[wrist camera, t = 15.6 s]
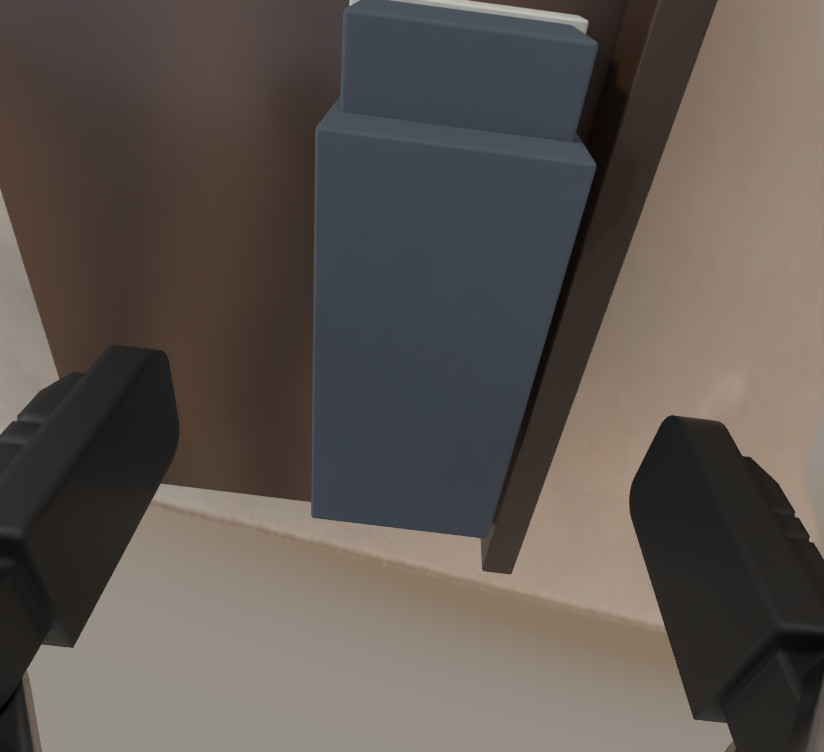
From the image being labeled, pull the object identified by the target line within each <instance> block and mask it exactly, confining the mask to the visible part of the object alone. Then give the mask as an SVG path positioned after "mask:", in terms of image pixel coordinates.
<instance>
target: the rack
mask: <svg viewBox="0 0 824 752" xmlns="http://www.w3.org/2000/svg"><path fill="white" fill-rule="evenodd" d="M349 1H350V0H0V189H1V192H2V195H3V198H4V202H5V205H6V208H7V211H8V215H9V218H10V221H11V224H12V227H13V231H14V234H15V237H16V240H17V244H18V247H19V250H20V253H21V256H22V260H23V263H24V266H25V269H26V273H27V276H28V279H29V282H30V285H31V289H32V292H33V295H34V298H35V302H36V305H37V308H38V311H39V314H40V318H41V321H42V324H43V327H44V331H45V334H46V337H47V340H48V343H49V347H50V350H51V353H52V356H53V360H54V363H55V366H56V369H57V372H58V376H59V379H62V378H63V377H65V376H67V375H68V374H70V373H72V372H77V373H86V372H87V370H88V369H89V368H90V367H91V366H92V364H93V363H94V362H95V361H96V360H97V359H98V357H99V356H100V355H101V354H102V353H103V351H104V350H105V349H106V348H107V347H109V346H110V345H113V344H116V345H124V346H132V347H140V348H148V349H156V350H162V351H164V352H165V353H166V355H167V356H168V359H169V363H170V369H171V375H172V381H173V387H174V393H175V399H176V405H177V411H178V417H179V424H180V432H179V441H178V446H177V450H176V453H175V456H174V459H173V461H172V463H171V465H170V467H169V468H168V470H167V472H166V474H165V476H164V478H163V480H162V482H161V484H169V485H178V486H186V487H194V488H202V489H210V490H218V491H226V492H235V493H243V494H251V495H259V496H267V497H275V498H283V499H292V500H300V501H308V502H312V409H313V313H314V217H315V130H316V127H317V126H318V125H319V123H320V122H321V121H322V119H323V118H324V117H325V115H326V114H327V113H328V112H329V110H330V109H331V108H332V106H333V105H334V104H335V102H336V101H337V100H338V99H339V97H340V94H341V64H342V35H343V12H344V10H345V8H347V7H349ZM469 1H476V2H484V3H491V4H498V5H506V6H513V7H521V8H528V9H535V10H543V11H550V12H558V13H565V14H572V15H579V16H581V17H582V18H584V19H586V20H588V22H589V25H588V29H587V33H586V35H587V36H589V37H590V38H592V39H593V40H595V41H596V42H598V51H597V54H596V58H595V62H594V66H593V69H592V73H591V77H590V81H589V85H588V88H587V92H586V96H585V100H584V104H583V107H582V111H581V115H580V119H579V122H578V126H577V130H576V133H577V135H578V136H579V138H580V139H581V141H582V142H583V144H584V145H585V147H586V148H587V150H588V152H589V153H590V155H591V156H592V158H593V159H594V161H595V162H596V166H597V167H596V171H595V174H594V177H593V181H592V184H591V188H590V191H589V194H588V198H587V201H586V205H585V208H584V211H583V215H582V218H581V222H580V225H579V228H578V232H577V235H576V239H575V242H574V245H573V249H572V252H571V256H570V259H569V262H568V266H567V269H566V273H565V276H564V279H563V283H562V286H561V290H560V293H559V296H558V300H557V303H556V307H555V310H554V313H553V317H552V320H551V324H550V327H549V330H548V334H547V337H546V340H545V344H544V347H543V351H542V354H541V357H540V361H539V364H538V368H537V371H536V374H535V378H534V381H533V385H532V388H531V391H530V395H529V398H528V402H527V405H526V408H525V412H524V415H523V419H522V422H521V425H520V429H519V432H518V436H517V439H516V442H515V446H514V449H513V453H512V456H511V459H510V463H509V466H508V470H507V473H506V476H505V480H504V483H503V487H502V490H501V493H500V497H499V500H498V504H497V507H496V510H495V514H494V517H493V521H492V524H491V527H490V531H489V534H488V537H487V538H481V555H482V570H483V571H487V572H495V573H503V574H512V571H513V568H514V565H515V563H516V560H517V557H518V554H519V551H520V549H521V546H522V543H523V540H524V538H525V535H526V532H527V529H528V526H529V524H530V521H531V518H532V515H533V513H534V510H535V507H536V504H537V501H538V499H539V496H540V493H541V490H542V487H543V485H544V482H545V479H546V476H547V474H548V471H549V468H550V465H551V462H552V460H553V457H554V454H555V451H556V448H557V446H558V443H559V440H560V437H561V435H562V432H563V429H564V426H565V423H566V421H567V418H568V415H569V412H570V410H571V407H572V404H573V401H574V398H575V396H576V393H577V390H578V387H579V384H580V382H581V379H582V376H583V373H584V371H585V368H586V365H587V362H588V359H589V357H590V354H591V351H592V348H593V346H594V343H595V340H596V337H597V334H598V332H599V329H600V326H601V323H602V320H603V318H604V315H605V312H606V309H607V307H608V304H609V301H610V298H611V295H612V293H613V290H614V287H615V284H616V282H617V279H618V276H619V273H620V270H621V268H622V265H623V262H624V259H625V256H626V254H627V251H628V248H629V245H630V243H631V240H632V237H633V234H634V231H635V229H636V226H637V223H638V220H639V217H640V215H641V212H642V209H643V206H644V204H645V201H646V198H647V195H648V192H649V190H650V187H651V184H652V181H653V179H654V176H655V173H656V170H657V167H658V165H659V162H660V159H661V156H662V153H663V151H664V148H665V145H666V142H667V140H668V137H669V134H670V131H671V128H672V126H673V123H674V120H675V117H676V115H677V112H678V109H679V106H680V103H681V101H682V98H683V95H684V92H685V89H686V87H687V84H688V81H689V78H690V76H691V73H692V70H693V67H694V64H695V62H696V59H697V56H698V53H699V51H700V48H701V45H702V42H703V39H704V37H705V34H706V31H707V28H708V25H709V23H710V20H711V17H712V14H713V12H714V9H715V6H716V3H717V0H469Z"/></svg>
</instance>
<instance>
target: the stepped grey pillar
mask: <svg viewBox="0 0 824 752" xmlns="http://www.w3.org/2000/svg"><path fill="white" fill-rule="evenodd" d="M588 25H589V22H588V20H586V19H584V18H582V17H581V16H579V15H572V14H565V13H558V12H550V11H543V10H535V9H528V8H521V7H513V6H506V5H498V4H491V3H484V2H476V1H469V0H350V1H349V7H347V8H345V10H344V12H343V35H342V64H341V94H340V97H339V99H338V100H337V101H336V102H335V104H334V105H333V106H332V108H331V109H330V110H329V112H328V113H327V114H326V115H325V117H324V118H323V119H322V121H321V122H320V123H319V125H318V126H317V127H316V130H315V217H314V313H313V409H312V505H311V515H312V517H313V518H319V519H327V520H336V521H344V522H352V523H361V524H369V525H377V526H386V527H394V528H402V529H411V530H419V531H427V532H436V533H444V534H452V535H461V536H469V537H477V538H487V537H488V534H489V531H490V527H491V524H492V521H493V517H494V514H495V510H496V507H497V504H498V500H499V497H500V493H501V490H502V487H503V483H504V480H505V476H506V473H507V470H508V466H509V463H510V459H511V456H512V453H513V449H514V446H515V442H516V439H517V436H518V432H519V429H520V425H521V422H522V419H523V415H524V412H525V408H526V405H527V402H528V398H529V395H530V391H531V388H532V385H533V381H534V378H535V374H536V371H537V368H538V364H539V361H540V357H541V354H542V351H543V347H544V344H545V340H546V337H547V334H548V330H549V327H550V324H551V320H552V317H553V313H554V310H555V307H556V303H557V300H558V296H559V293H560V290H561V286H562V283H563V279H564V276H565V273H566V269H567V266H568V262H569V259H570V256H571V252H572V249H573V245H574V242H575V239H576V235H577V232H578V228H579V225H580V222H581V218H582V215H583V211H584V208H585V205H586V201H587V198H588V194H589V191H590V188H591V184H592V181H593V177H594V174H595V171H596V167H597V166H596V162H595V161H594V159H593V158H592V156H591V155H590V153H589V152H588V150H587V148H586V147H585V145H584V144H583V142H582V141H581V139H580V138H579V136H578V135H577V133H576V130H577V126H578V122H579V119H580V115H581V111H582V107H583V104H584V100H585V96H586V92H587V88H588V85H589V81H590V77H591V73H592V69H593V66H594V62H595V58H596V54H597V51H598V42H596V41H595V40H593V39H592V38H590V37H589V36H587V35H586V33H587V29H588Z"/></svg>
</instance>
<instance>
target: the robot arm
mask: <svg viewBox="0 0 824 752" xmlns="http://www.w3.org/2000/svg"><path fill="white" fill-rule="evenodd" d="M17 417H18V418H17V421H12V423H11V424H10V425H9V426H8V427H7V428H6V429H5V430H4V431H3V433H2V434H1V435H0V752H42V748H41V742H40V737H39V731H38V725H37V719H36V714H35V708H34V703H33V696H32V691H31V685H30V679H29V676H28V673H27V671H26V670H27V668H28V666H29V665H30V663H31V661H32V660H33V658H34V656H35V654H36V653H37V651H38V649H39V647H40V646H41V644H43V645H52V646H61V647H71V648H73V647H74V645H75V643H76V641H77V640H78V638H79V636H80V634H81V632H82V630H83V628H84V626H85V625H86V623H87V621H88V619H89V617H90V615H91V613H92V611H93V609H94V608H95V605H96V604H97V601H98V600H99V598H100V596H101V594H102V593H103V591H104V589H105V587H106V585H107V583H108V581H109V579H110V577H111V576H112V574H113V572H114V570H115V568H116V566H117V564H118V562H119V561H120V559H121V557H122V555H123V553H124V551H125V549H126V547H127V545H128V544H129V542H130V540H131V538H132V536H133V534H134V532H135V530H136V529H137V526H138V525H139V523H140V521H141V519H142V517H143V515H144V514H145V512H146V510H147V508H148V506H149V504H150V502H151V500H152V499H153V497H154V495H155V493H156V491H157V489H158V487H159V485H160V484H161V482H162V480H163V478H164V476H165V474H166V472H167V470H168V468H169V467H170V465H171V463H172V461H173V459H174V456H175V453H176V450H177V446H178V441H179V432H180V424H179V417H178V411H177V405H176V399H175V393H174V387H173V381H172V375H171V369H170V363H169V359H168V356H167V355H166V353H165V352H164V351H162V350H156V349H148V348H140V347H132V346H124V345H116V344H113V345H110V346H109V347H107V348H106V349H105V350H104V351H103V353H102V354H101V355H100V356H99V357H98V359H97V360H96V361H95V362H94V363H93V364H92V366H91V367H90V368H89V369H88V370H87V372H86V373H77V372H72V373H70V374H68V375H67V376H65V377H63V378H62V379H60V380H58V381H56V382H55V383H53V384H51V385H50V386H48V387H46V388H45V389H43V390H41V391H40V392H39V393H38V394H37V395H36V396H35V397H34V398H33V399H32V400H31V402H30V403H29V404H28V405H27V406H26V407H25V408H24V409H23V410H22V412H21V413H20V414H19V415H18V416H17ZM629 506H630V515H631V519H632V522H633V525H634V528H635V532H636V535H637V538H638V541H639V544H640V548H641V551H642V554H643V557H644V560H645V564H646V567H647V570H648V573H649V577H650V580H651V583H652V586H653V589H654V593H655V596H656V599H657V602H658V605H659V609H660V612H661V615H662V618H663V622H664V625H665V628H666V631H667V634H668V638H669V641H670V644H671V647H672V650H673V654H674V657H675V660H676V663H677V666H678V669H679V673H680V676H681V679H682V682H683V685H684V689H685V692H686V695H687V699H688V702H689V705H690V708H691V711H692V715H693V718H694V719H695V720H704V721H713V722H722V723H727V724H728V727H729V729H730V733H731V735H732V738H733V742H732V743H731V744H730V745H729V747H728V748H727V749H726V751H725V752H824V559H823V558H822V556H821V554H820V553H819V551H818V549H817V548H816V546H815V544H814V543H812V542H809V537H810V536H809V534H808V533H807V531H806V529H805V528H804V526H803V524H802V523H801V521H800V519H799V518H795V516H794V514H795V511H794V509H793V508H792V506H791V504H790V503H789V501H788V499H787V498H786V496H785V494H784V493H783V491H782V489H781V488H780V486H779V484H778V483H777V482H776V481H775V480H774V479H773V478H772V477H771V476H770V475H769V474H768V473H767V472H765V471H764V470H763V469H762V468H761V467H760V466H759V465H758V464H757V463H756V462H755V461H754V460H753V459H752V458H751V457H745V456H742V455H741V453H740V451H739V449H738V448H737V446H736V444H735V442H734V440H733V439H732V437H731V435H730V433H729V432H728V430H727V428H726V427H725V425H723V424H722V423H721V422H719V421H713V420H705V419H697V418H689V417H681V416H673V415H672V416H669V417H667V418H666V419H665V420H664V421H663V422H662V424H661V426H660V427H659V429H658V431H657V433H656V435H655V437H654V439H653V441H652V443H651V445H650V447H649V449H648V451H647V453H646V455H645V457H644V459H643V461H642V463H641V465H640V467H639V469H638V471H637V473H636V475H635V477H634V480H633V482H632V485H631V490H630V498H629Z"/></svg>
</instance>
